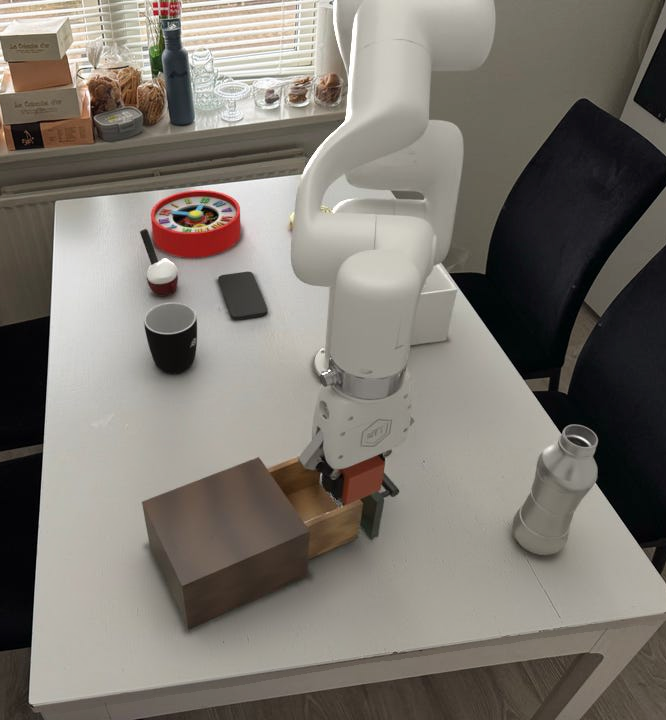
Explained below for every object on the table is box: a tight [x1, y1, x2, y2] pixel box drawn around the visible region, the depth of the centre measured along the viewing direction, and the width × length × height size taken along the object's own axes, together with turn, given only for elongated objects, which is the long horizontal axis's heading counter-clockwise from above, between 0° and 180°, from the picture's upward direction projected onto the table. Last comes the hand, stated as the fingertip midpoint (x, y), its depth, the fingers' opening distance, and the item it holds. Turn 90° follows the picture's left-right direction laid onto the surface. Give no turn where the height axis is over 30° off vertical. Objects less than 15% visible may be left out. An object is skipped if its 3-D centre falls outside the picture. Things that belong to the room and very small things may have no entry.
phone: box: [217, 270, 269, 320], centre depth 137 cm, size 7×1×15 cm
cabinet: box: [141, 456, 310, 630], centre depth 88 cm, size 17×13×10 cm
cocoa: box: [139, 228, 179, 297], centre depth 137 cm, size 10×6×12 cm, turn 12°
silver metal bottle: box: [512, 424, 599, 556], centre depth 84 cm, size 6×7×20 cm
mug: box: [143, 302, 198, 375], centre depth 121 cm, size 12×9×10 cm
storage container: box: [410, 264, 458, 346], centre depth 128 cm, size 25×11×11 cm, turn 7°
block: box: [341, 455, 386, 506], centre depth 80 cm, size 5×5×5 cm
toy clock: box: [150, 189, 242, 259], centre depth 155 cm, size 20×6×20 cm
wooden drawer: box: [266, 455, 400, 560], centre depth 92 cm, size 20×12×8 cm, turn 113°
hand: (351, 480), depth 81 cm, fingers closed on block, 4 cm apart
